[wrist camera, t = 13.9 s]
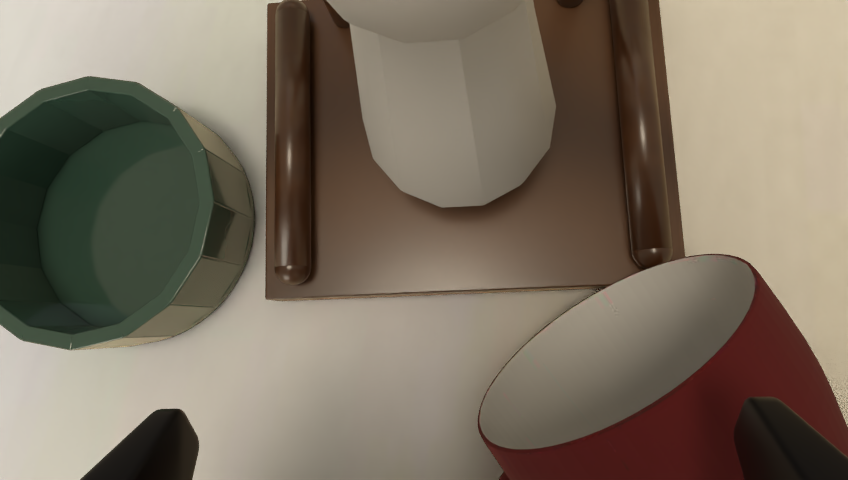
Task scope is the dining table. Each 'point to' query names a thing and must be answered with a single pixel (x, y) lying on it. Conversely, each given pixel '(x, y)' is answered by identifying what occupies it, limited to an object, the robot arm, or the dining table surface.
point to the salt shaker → (452, 94)
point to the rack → (472, 225)
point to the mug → (654, 379)
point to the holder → (115, 217)
